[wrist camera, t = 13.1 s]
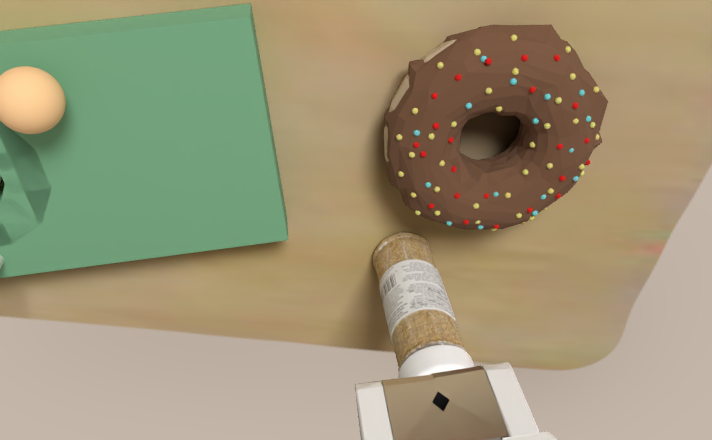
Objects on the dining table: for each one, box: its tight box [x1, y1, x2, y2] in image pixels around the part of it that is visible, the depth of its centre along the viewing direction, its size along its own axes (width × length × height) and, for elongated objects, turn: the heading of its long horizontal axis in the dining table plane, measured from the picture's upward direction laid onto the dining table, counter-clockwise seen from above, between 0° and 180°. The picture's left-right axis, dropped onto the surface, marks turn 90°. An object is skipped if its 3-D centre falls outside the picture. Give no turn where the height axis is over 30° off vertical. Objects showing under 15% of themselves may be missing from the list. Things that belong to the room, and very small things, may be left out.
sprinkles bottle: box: [373, 232, 474, 378], centre depth 42 cm, size 5×5×14 cm
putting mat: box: [0, 3, 288, 278], centre depth 35 cm, size 17×24×14 cm
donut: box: [384, 25, 608, 231], centre depth 40 cm, size 14×14×5 cm
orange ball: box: [0, 66, 66, 134], centre depth 33 cm, size 4×4×4 cm
